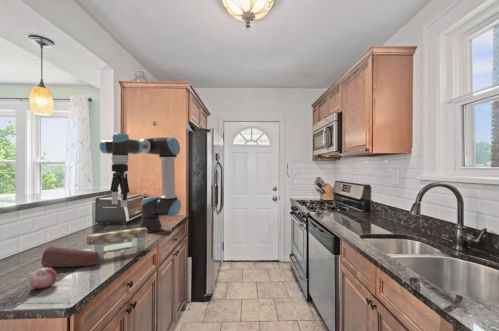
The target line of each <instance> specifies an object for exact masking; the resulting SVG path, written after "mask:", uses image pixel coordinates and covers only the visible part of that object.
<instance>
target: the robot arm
mask: <svg viewBox="0 0 499 331" xmlns="http://www.w3.org/2000/svg"><path fill="white" fill-rule="evenodd" d="M180 150H181V145H180V143H179V141H178V139H177V138H175V137H170V136H169V137H151V138H142V139H139V140H137V139H130V137H129V134H127V133H121V132H120V133H119V132H118V133H117V132H115V133H113V134H112V139H104V140H101V141H100V143H99V151H100V152H101V153H103V154H107V155H108V154H110V155H111V156H110V159H111V163H112V164H111V172H113V173H112V179H111V184H110V191H111V205H118V204H119V203H118V200H119V199H118V198H119V195H118V193H119V188H120V208H125V207H126V208H127V207H128V194H129V193H130V188H129V180H128V173H125V172H128V171H129V154H133V155H138V154H140V153H141V154H149V155H158V157H159V158H160V160H161V193H162V194H161V195H160V196H153V197H152V196H150V197H145V198H143V199H142V201H141V221H140V224H139V227H138V228H143V227H145V228H147V233H157V232H160V231H162V230H163V226H162V222H161V220H160V217H176V216H177V215H179V213H180V210H181V207H182V202H181V200H180V199H178V195H177V194H176V182H175V181H176V173H175V172H176V171H175V170H176V169H175V166H176V165H175V160H176V159H177V157H178V155H179V154H180Z"/></svg>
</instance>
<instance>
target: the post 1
mask: <svg viewBox="0 0 499 331" xmlns="http://www.w3.org/2000/svg"><path fill="white" fill-rule="evenodd" d="M104 246H105V243H104V238H100V239H94V245H89V247H90V248H89V249H90V251H93V252H97V253H98V255H99V256H100V259H99V260H103V259H104V257H105V256H104V253H105V252H104Z"/></svg>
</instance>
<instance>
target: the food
mask: <svg viewBox="0 0 499 331" xmlns="http://www.w3.org/2000/svg"><path fill="white" fill-rule="evenodd" d="M100 260H101V259H100V256H99V255H98V253H97V252H93V251H85V250H84V249H73V248H67V247H66V248H65V247H61V246H60V247H59V246H54V245H53V246H52V245H51V246H48V247H47V249H45V250H44V252H43V254H42V257H41V261H40V263H41V265H42V268H46V267H47V268H52V269H54V268H71V267H72V268H75V267H77V266H78V267H91V266H94V265H95V264H96V263H98V261H100ZM53 267H54V268H53ZM78 267H77V268H78Z"/></svg>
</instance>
